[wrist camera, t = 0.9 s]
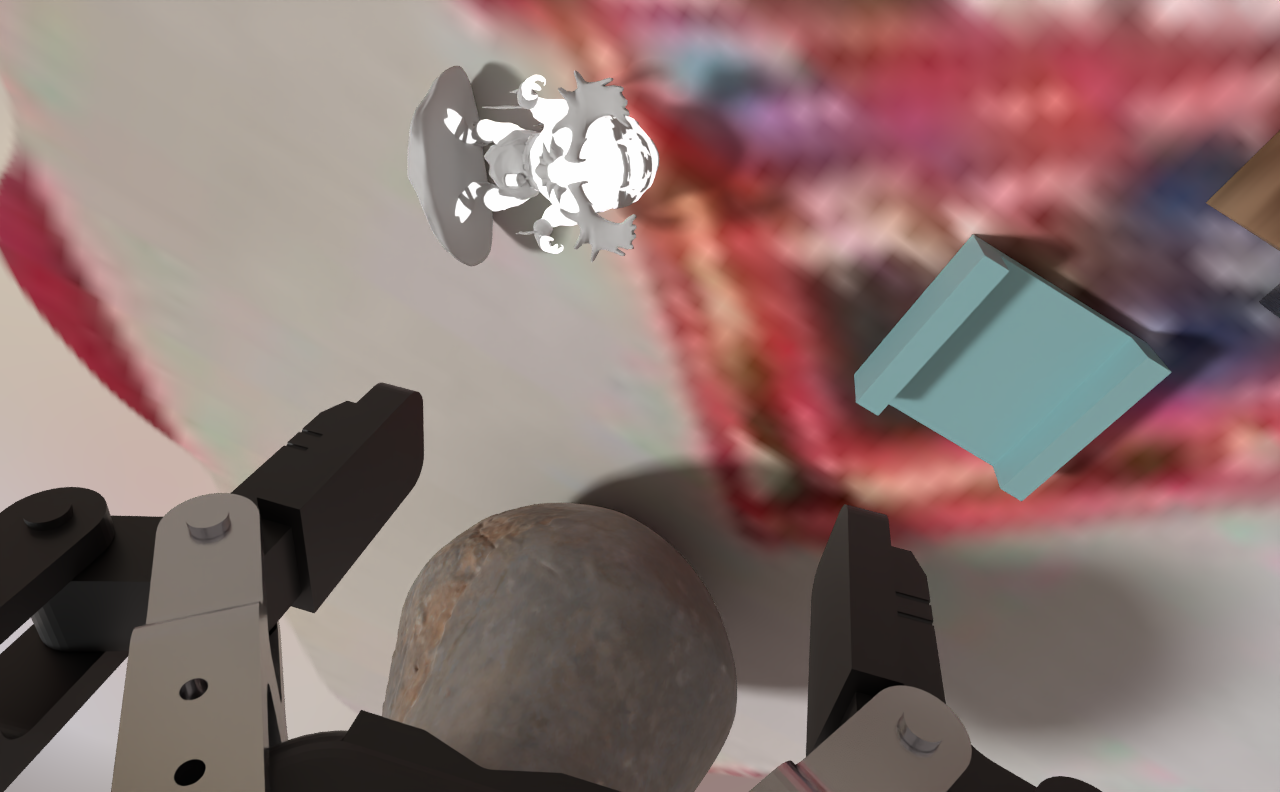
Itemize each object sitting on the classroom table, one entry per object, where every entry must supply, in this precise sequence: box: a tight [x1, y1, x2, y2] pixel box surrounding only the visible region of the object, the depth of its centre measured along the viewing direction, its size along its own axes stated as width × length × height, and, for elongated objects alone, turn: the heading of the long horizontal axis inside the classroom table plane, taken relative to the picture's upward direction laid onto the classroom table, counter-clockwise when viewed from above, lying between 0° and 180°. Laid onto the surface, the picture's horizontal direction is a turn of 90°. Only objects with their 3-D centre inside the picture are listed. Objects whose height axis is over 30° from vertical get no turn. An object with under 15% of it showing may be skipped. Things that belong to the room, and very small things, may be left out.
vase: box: [382, 503, 737, 792], centre depth 39 cm, size 20×19×25 cm
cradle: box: [854, 235, 1171, 501], centre depth 36 cm, size 9×10×3 cm
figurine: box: [407, 66, 659, 266], centre depth 34 cm, size 9×6×12 cm
